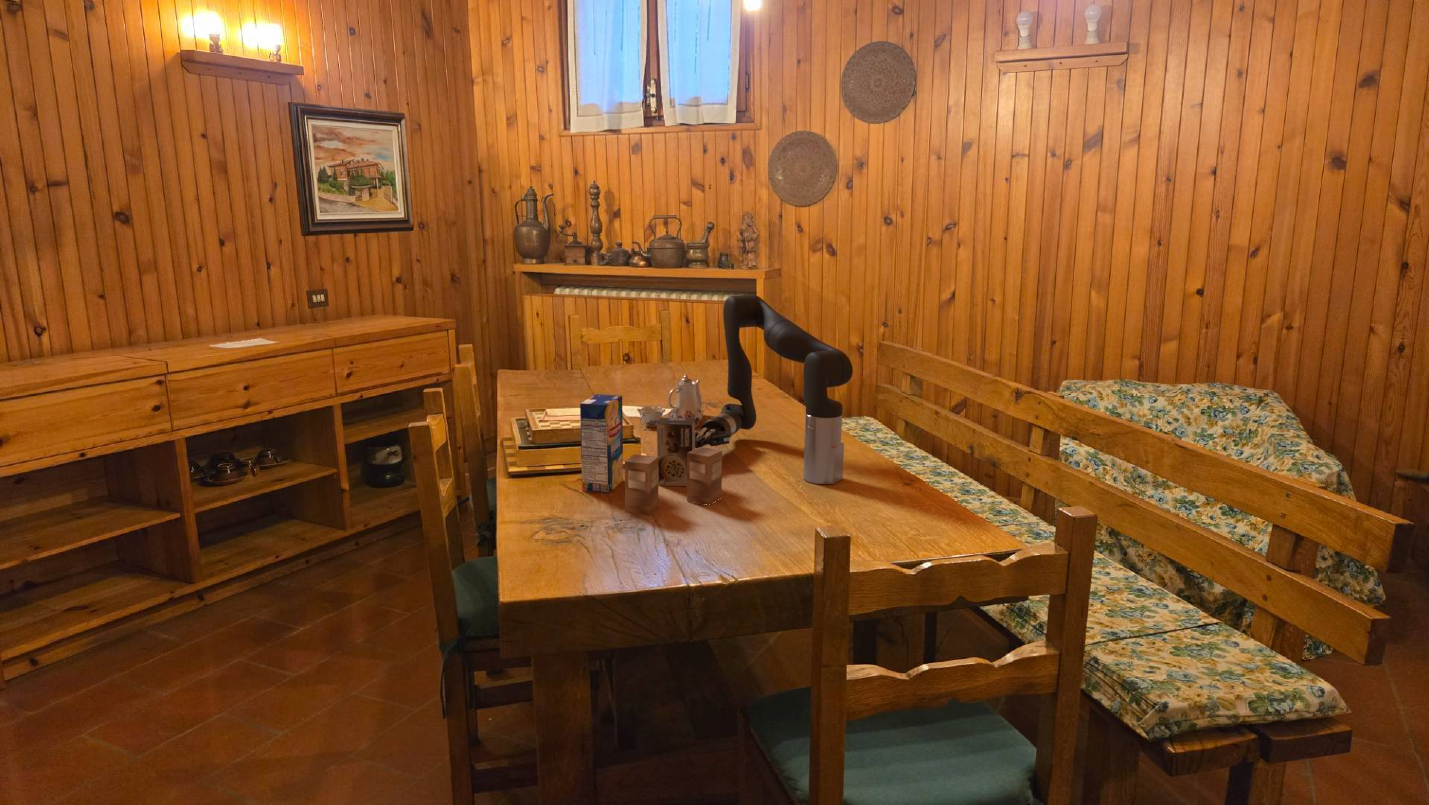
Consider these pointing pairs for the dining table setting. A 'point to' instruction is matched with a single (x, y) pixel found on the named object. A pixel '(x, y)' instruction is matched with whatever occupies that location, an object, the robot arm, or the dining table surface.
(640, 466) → the marked block 1
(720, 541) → the dining table surface
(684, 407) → the chinaware
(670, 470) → the coffee box
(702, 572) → the dining table surface
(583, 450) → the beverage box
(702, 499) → the marked block 2
